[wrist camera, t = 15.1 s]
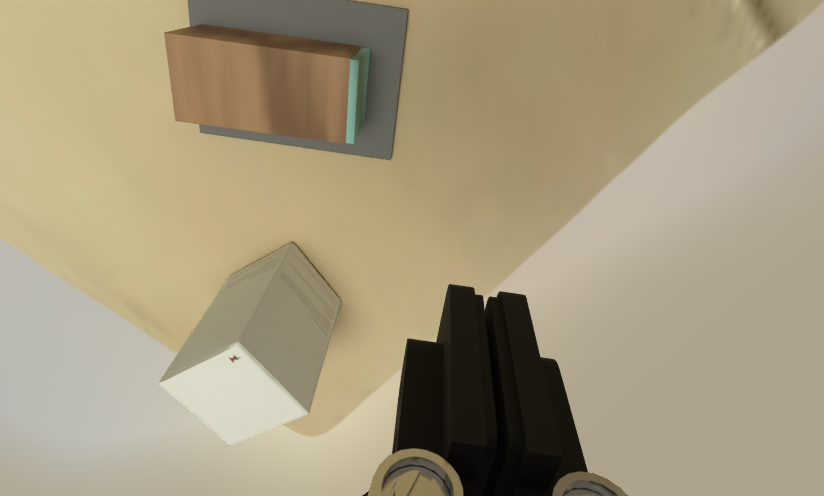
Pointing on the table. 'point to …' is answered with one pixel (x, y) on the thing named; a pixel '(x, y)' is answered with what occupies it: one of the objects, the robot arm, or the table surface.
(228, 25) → the mat
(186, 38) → the walnut block
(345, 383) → the table surface
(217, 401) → the supplement box
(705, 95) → the table surface
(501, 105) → the table surface
